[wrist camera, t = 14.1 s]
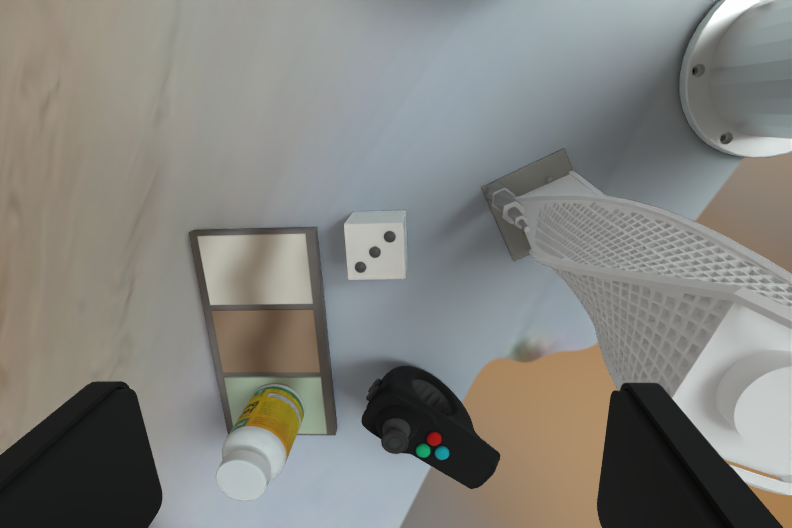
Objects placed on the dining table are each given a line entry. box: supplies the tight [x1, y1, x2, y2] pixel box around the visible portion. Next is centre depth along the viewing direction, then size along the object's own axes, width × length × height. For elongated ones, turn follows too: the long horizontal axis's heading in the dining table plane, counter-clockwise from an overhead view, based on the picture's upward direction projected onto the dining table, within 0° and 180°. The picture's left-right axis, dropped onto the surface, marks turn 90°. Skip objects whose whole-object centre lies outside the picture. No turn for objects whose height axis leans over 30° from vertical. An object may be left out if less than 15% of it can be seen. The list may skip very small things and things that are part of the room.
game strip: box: [189, 227, 337, 435], centre depth 42 cm, size 11×21×1 cm, turn 2°
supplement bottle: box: [216, 384, 305, 501], centre depth 39 cm, size 5×5×10 cm
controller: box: [362, 366, 500, 489], centre depth 39 cm, size 4×12×10 cm, turn 55°
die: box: [344, 210, 408, 280], centre depth 37 cm, size 4×4×5 cm
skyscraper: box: [482, 149, 792, 495], centre depth 24 cm, size 8×8×28 cm
